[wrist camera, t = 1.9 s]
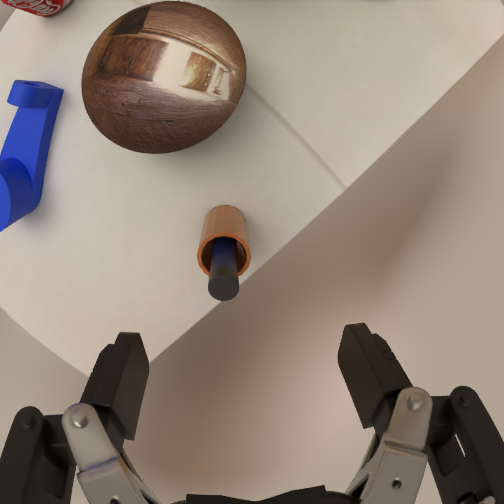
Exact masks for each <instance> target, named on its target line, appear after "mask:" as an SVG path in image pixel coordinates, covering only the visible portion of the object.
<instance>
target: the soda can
mask: <svg viewBox="0 0 504 504" xmlns="http://www.w3.org/2000/svg"><path fill="white" fill-rule="evenodd" d="M1 1H2V2H3V3H5V4H7V5H10V6H12V7H15V8H18V9H21V10H23V11H26V12H29V13H32V14H35V15H38V16H43V17H50V16H53V15H55V14H57V13H58V12H60V11H61V10H62V9H63V8H65V7H66V6H67V5H68V3H69V2H70V1H71V0H1Z"/></svg>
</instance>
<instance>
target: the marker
mask: <svg viewBox="0 0 504 504" xmlns="http://www.w3.org/2000/svg"><path fill="white" fill-rule="evenodd" d="M208 291H209V293H210V295H211V296H212V297H213V298H215V299H217V300H220V301H227V300H230V299H232V298H234V297H235V296H236V295H237V293H238V291H239V280H238V275H237V260H236V245H235V238H232V237H227V236H221V237H215V238H214V240H213V249H212V258H211V268H210V276H209V283H208Z"/></svg>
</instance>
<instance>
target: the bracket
mask: <svg viewBox="0 0 504 504" xmlns="http://www.w3.org/2000/svg"><path fill="white" fill-rule="evenodd" d="M63 91H64V90H63V89H60V88H57V87H55V86H52V85H49V84H46V83H44V82H38V81H25V80H15V81H14V83H13V86H12V89H11V91H10V94H9V97H8V100H7V102H8V103H9V104H12V105H14V106H18V107H19V108H18V110H17V112H16V115H15V117H14V119H13V122H12V124H11V127H10V129H9V132H8V135H7V137H6V140H5V143H4V146H3V149H2V152H1V155H0V232H1V231H2V230H4V229H5V228H7V227H8V226H10V225H11V224H13V223H14V222H16V221H17V220H19V219H20V218H22V217H23V216H25V215H26V214H28V213H30V212H31V211H33V210H34V209H35V208H36V207H37V205H38V203H39V201H40V198H41V194H42V186H43V179H44V172H45V166H46V160H47V155H48V149H49V144H50V140H51V135H52V131H53V127H54V123H55V119H56V115H57V111H58V108H59V104H60V101H61V97H62V94H63Z"/></svg>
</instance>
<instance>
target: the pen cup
mask: <svg viewBox="0 0 504 504" xmlns="http://www.w3.org/2000/svg"><path fill="white" fill-rule="evenodd" d="M221 236H227V237H232V238H235V245H236V260H237V275H238V276H240V275H242V274H243V273H244V272H245V270H246V269H247V268H248V266H249V263H250V260H251V254H250V247H249V241H248V235H247V229H246V223H245V219H244V217H243V215H242V213H241V212H240V211H239V210H238V209H236V208H234V207H232V206H228V205H221V206H218V207H215V208H213V209H212V210H211V211H210V212H209V213H208V214H207V216H206V218H205V221H204V225H203V230H202V234H201V239H200V244H199V248H198V253H197V259H198V263H199V266H200V267H201V269H202V270H203V272H204V273H205V274H207V275H208V276H210V268H211V258H212V249H213V240H214V238H215V237H221Z"/></svg>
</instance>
